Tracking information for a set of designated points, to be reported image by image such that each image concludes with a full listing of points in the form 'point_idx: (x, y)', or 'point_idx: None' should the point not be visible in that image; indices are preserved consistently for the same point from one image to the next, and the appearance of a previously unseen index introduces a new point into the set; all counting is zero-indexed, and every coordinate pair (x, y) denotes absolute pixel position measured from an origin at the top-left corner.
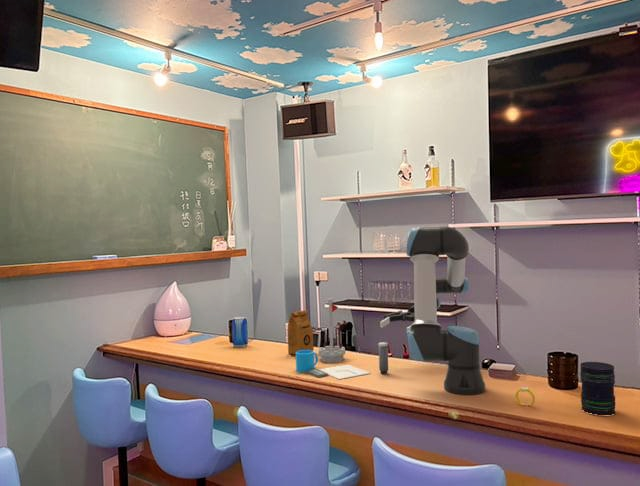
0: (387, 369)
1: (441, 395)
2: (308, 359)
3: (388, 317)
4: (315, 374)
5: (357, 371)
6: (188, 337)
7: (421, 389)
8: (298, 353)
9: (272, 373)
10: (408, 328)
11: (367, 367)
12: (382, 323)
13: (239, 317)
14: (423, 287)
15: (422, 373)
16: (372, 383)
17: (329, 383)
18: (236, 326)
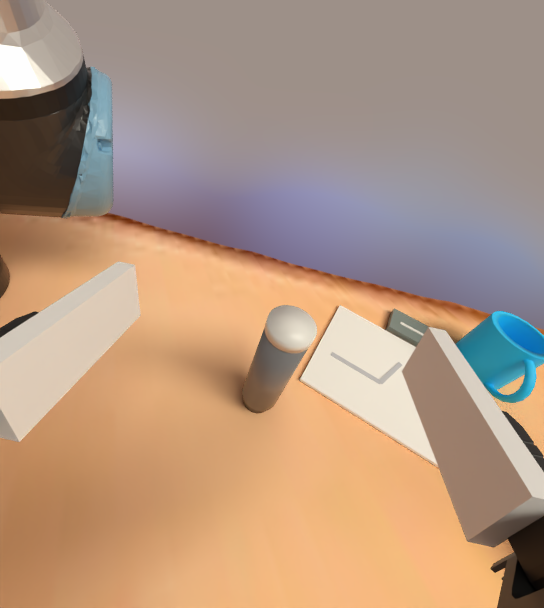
0: (243, 385)
1: (36, 241)
2: (477, 328)
3: (533, 479)
4: (405, 315)
5: (346, 380)
6: None
7: (95, 272)
8: (512, 315)
9: None
10: (114, 266)
11: (361, 469)
12: (424, 352)
13: None
14: None
15: (76, 458)
16: (247, 295)
17: (337, 282)
18: None
